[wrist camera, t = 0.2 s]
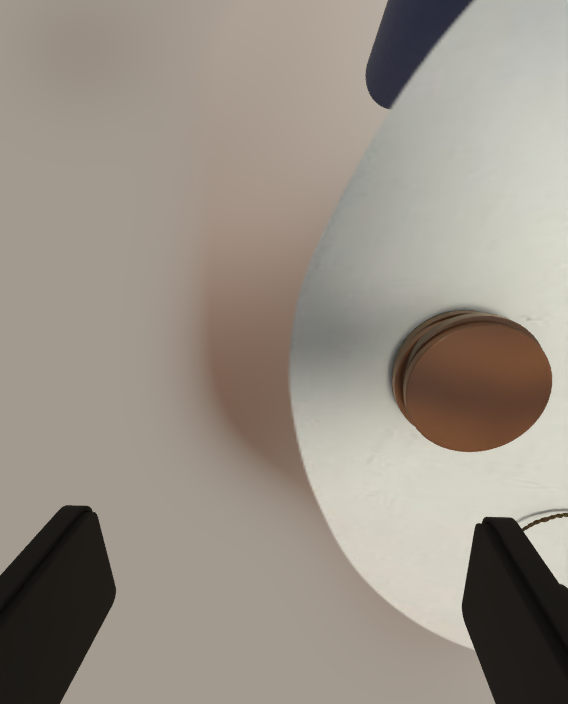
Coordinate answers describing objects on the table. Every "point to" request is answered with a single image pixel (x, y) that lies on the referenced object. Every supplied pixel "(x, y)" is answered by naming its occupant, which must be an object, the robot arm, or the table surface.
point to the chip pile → (471, 380)
